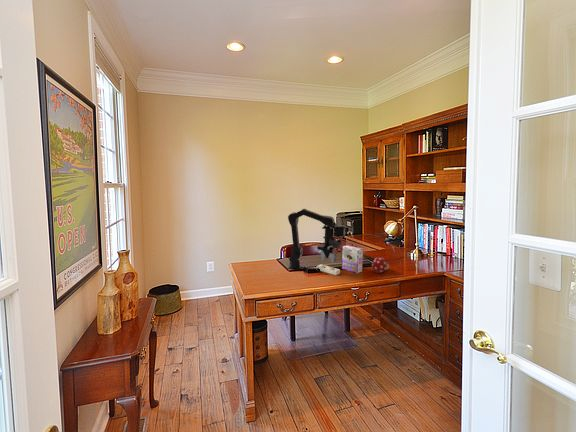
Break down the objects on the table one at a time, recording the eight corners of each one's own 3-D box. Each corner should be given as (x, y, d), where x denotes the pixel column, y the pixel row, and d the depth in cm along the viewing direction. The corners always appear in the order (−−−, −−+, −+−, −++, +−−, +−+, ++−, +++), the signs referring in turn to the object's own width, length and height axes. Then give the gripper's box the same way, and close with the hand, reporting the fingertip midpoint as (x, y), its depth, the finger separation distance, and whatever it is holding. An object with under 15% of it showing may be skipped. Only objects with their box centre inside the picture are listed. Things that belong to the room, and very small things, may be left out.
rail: (316, 270, 225) (316, 266, 224) (321, 268, 228) (321, 264, 228) (335, 275, 214) (336, 271, 214) (340, 273, 218) (340, 269, 217)
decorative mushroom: (388, 256, 229) (376, 252, 219) (397, 268, 222) (386, 264, 212) (377, 266, 233) (365, 263, 224) (386, 278, 226) (374, 275, 216)
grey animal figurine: (320, 259, 223) (320, 250, 222) (323, 258, 225) (323, 250, 224) (334, 262, 215) (334, 254, 214) (336, 261, 217) (336, 253, 216)
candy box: (362, 271, 222) (363, 248, 219) (357, 273, 218) (358, 250, 215) (346, 267, 232) (347, 244, 229) (341, 268, 228) (342, 246, 225)
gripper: (330, 239, 205) (330, 263, 208) (346, 235, 218) (346, 257, 221) (316, 237, 212) (316, 259, 215) (333, 232, 226) (332, 254, 229)
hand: (328, 257), depth 220 cm, fingers closed on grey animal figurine, 3 cm apart
